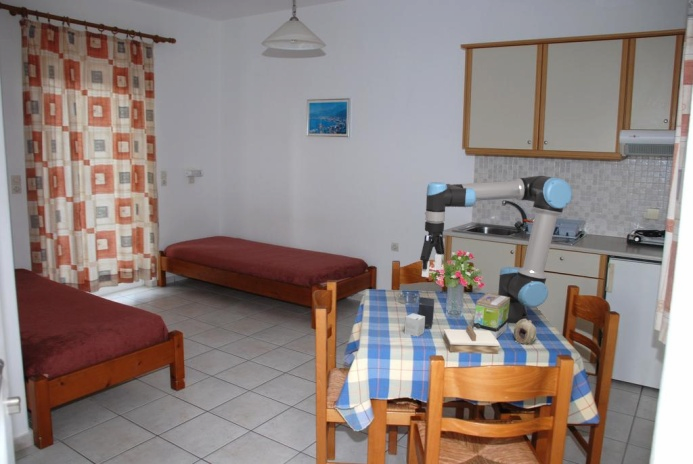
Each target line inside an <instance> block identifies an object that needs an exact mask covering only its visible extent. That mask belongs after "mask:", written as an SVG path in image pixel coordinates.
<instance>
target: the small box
mask: <svg viewBox="0 0 693 464" xmlns="http://www.w3.org/2000/svg"><path fill="white" fill-rule="evenodd" d="M417 306H418V308H417V314H418V315H421V316H425V327H424V329H426V330H427V329H429V330H432V327H433V321H434V316H435V315H434V314H435V298H431V297H430V298H429V297H423V296H421V297H419V302H418V305H417Z"/></svg>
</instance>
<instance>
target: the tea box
mask: <svg viewBox="0 0 693 464" xmlns="http://www.w3.org/2000/svg"><path fill="white" fill-rule="evenodd" d="M475 303H476V304H475V312H474V321H473V328H472V329H473V330H484V331H491V333H492V334H493V336H494V337H495V338H496V340H497V339H498V338H499V337H500V336H501V335H503V334H504V333H505V332H506V331H507V330H508V323H509V322H508V313H509V304H510V297H505V296H500V295H498V294H495V293H489V292H488V293H486V294H484V295H483V296H481V297H479V299H477V300H476V302H475Z"/></svg>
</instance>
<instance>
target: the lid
mask: <svg viewBox="0 0 693 464" xmlns="http://www.w3.org/2000/svg"><path fill="white" fill-rule="evenodd" d="M473 329H474V328H472V326H471V325H466V329H453V328H452V329H451V328H450V329H447V328H444V329H443V334H444V333H445V335H446V337H447V339H448V341H449V343H450V344H454V345H485V346H499V347H500V346H501V345H500V342H499V341H498V340H497V339H496V338H495V337H494V336H493V334H492V333H491V331H484V330H473Z"/></svg>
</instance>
